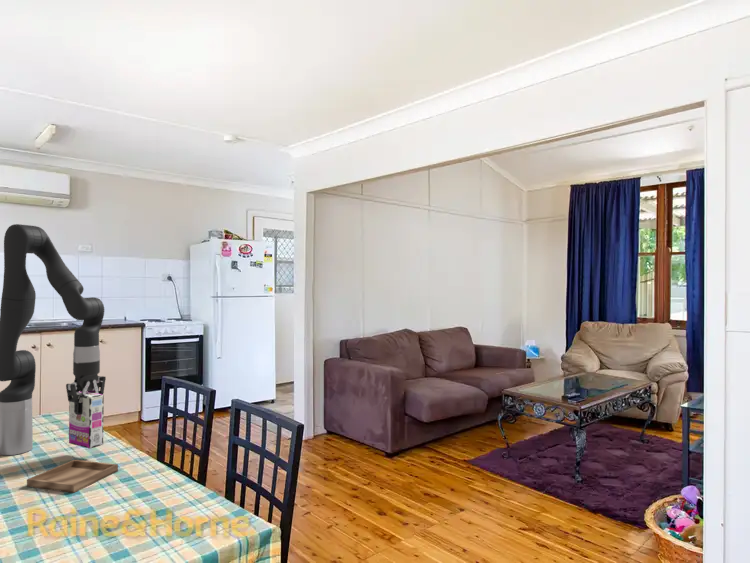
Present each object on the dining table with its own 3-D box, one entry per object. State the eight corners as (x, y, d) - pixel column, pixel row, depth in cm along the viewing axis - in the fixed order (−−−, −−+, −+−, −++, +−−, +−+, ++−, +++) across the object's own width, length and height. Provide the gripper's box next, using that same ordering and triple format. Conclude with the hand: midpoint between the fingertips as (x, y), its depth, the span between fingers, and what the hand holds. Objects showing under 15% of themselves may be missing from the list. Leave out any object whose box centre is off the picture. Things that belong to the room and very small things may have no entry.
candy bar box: (104, 444, 167) (104, 394, 167) (89, 449, 163) (89, 397, 162) (82, 439, 172) (83, 390, 172) (68, 443, 168) (68, 393, 168)
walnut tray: (26, 486, 144) (26, 479, 144) (74, 466, 159) (74, 459, 159) (73, 492, 139) (73, 485, 139) (117, 471, 155) (117, 464, 155)
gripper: (94, 355, 175) (94, 405, 175) (58, 362, 161) (58, 416, 161) (113, 356, 173) (112, 407, 173) (77, 364, 159) (77, 418, 160)
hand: (86, 411), depth 167 cm, fingers closed on candy bar box, 5 cm apart
